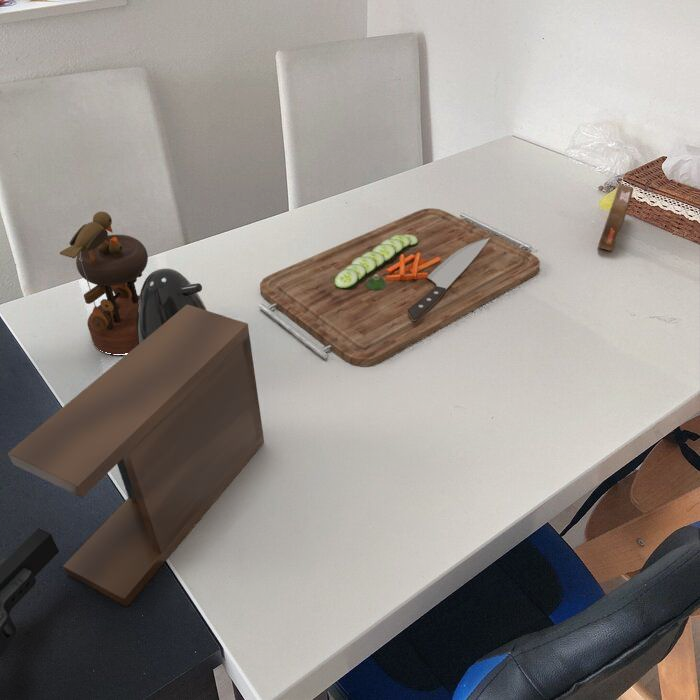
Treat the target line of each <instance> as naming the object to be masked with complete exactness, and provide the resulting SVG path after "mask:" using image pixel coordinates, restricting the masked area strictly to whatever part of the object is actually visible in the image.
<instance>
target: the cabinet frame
mask: <svg viewBox="0 0 700 700" xmlns="http://www.w3.org/2000/svg"><path fill="white" fill-rule="evenodd" d="M252 351H253V350H252V344H251V337H250V328H249V323H247V322H244V321H241V320H238V319H235V318H231V317H228V316H226V315H221V314H219V313H216V312H213V311H210V310H207V311H206V310H203V309H200V308H197V307H194V306H191V305H186V306H185V307H183V308H182V309H181V310H180V311H179V312H177V313H176V314H175V315H174V316H172V317H171V318H170V319H169V320H168V321H166V322H165V323H164V324H163V325H162V326H160V327H159V328H158V329H157V330H156V331H154V332H153V333H152V334H151V335H150V336H148V337H147V338H146V339H145V340H144V341H142V342H141V343H140V344H139V345H137V346H136V347H135V348H134V349H133V350H131V351H130V352H129V353H128V354H127V355H125V356H122V358H121V359H119V360H118V361H117V362H116V363H114V364H113V365H112V366H111V367H110V368H108V369H107V370H106V371H104V373H102V374H101V375H100V376H99V377H98V378H96V379H95V380H94V381H93V382H92V383H90V384H89V385H88V386H86V388H84V389H83V390H82V391H81V392H79V393H78V394H77V395H75V396H74V397H73V398H72V399H71V400H69V402H67V403H66V404H65V405H63V407H61V408H60V409H59V410H58V411H56V412H55V413H54V414H53V415H52V416H51V417H49V418H48V419H47V420H46V421H45V422H43V423H42V424H40V426H39V427H37V428H36V429H34V431H32V432H31V433H30V434H29V435H28V436H26V437H25V438H24V439H23V440H21V441H20V442H19V443H18V444H16V445H15V446H14V447H13V448H12V449H11V450H10V451H8V452H7V455H8V457H9V459H10V461H11V463H12V465H13V466H15V467H16V468H19V469H21V470H24V471H26V472H28V473H29V474H32V475H34V476H36V477H38V478H39V479H42V480H44V481H46V482H48V483H50V484H52V485H54V486H56V487H59V488H61V489H63V490H64V491H67V492H68V493H72V494H73V495H75V496H78V497H80V498H84V497H85V496H86V495H87V494H88V493H89V492H90V491H91V490H92V489H93V488H94V487H95V486H96V485H98V483H99V482H100V481H101V480H102V479H103V478H104V477H105V476H106V475H107V474H108V473H109V472H110V471H112V470H113V468H114V467H115V466H117V463H118V462H119V461H120V460H121V459H122V458H123V460H124V463H125V466H126V469H127V472H128V475H129V478H130V481H131V484H132V487H133V490H134V493H135V496H136V499H137V501H135V500H132V499H130V498H129V497H127V499H125V500H124V502H123V503H122V504H121V505H120V506H119V507H118V508H117V509H116V510H115V511H114V512H113V513H112V514H111V515H110V516H109V517H108V518H107V519H106V520H105V522H103V524H102V525H100V526H99V528H97V530H96V531H95V532H94V533H93V534H92V535H91V536H89V538H88V539H87V540H86V541H85V542H84V544H82V545H81V547H79V549H78V550H76V552H75V553H74V554H73V555H72V556H71V557H70V558H69V559H68V560H67V561H66V562H64V564H63V565H62V567H63V569H64V571H65V573H66V575H67V576H69V577H71V578H73V579H74V580H77V581H79V582H81V583H82V584H84V585H86V586H88V587H90V588H91V589H93V590H95V591H97V592H99V593H101V594H102V595H104V596H106V597H107V598H110V599H112V600H113V601H115V602H117V603H119V604H121V605H122V606H125V607H126V608H127V607H129V606H130V604H132V602H133V601H134V600H135V598H136V597H137V596H138V595H139V594H140V592H142V590H143V589H144V587H145V586H146V585H147V584H148V583H149V582H150V580H152V578H153V577H154V575H156V573H157V572H158V571H159V569H161V567H162V566H163V565H164V564H165V562H166V561H167V560H168V559H169V557H171V555H172V554H173V553H174V551H176V549H177V548H178V547H179V545H180V544H181V543H182V542H183V541H184V539H185V538H186V537H187V536H188V535H189V534H190V532H191V531H192V529H193V528H195V526H196V525H197V524H198V523H199V521H200V520H201V519H202V518H203V516H205V514H206V513H207V512H208V511H209V510H210V508H211V507H212V506H213V505H214V503H216V502H217V500H218V499H219V498H220V496H221V495H222V494H223V492H224V491H225V490H226V489H227V488H228V486H229V485H230V484H231V483H232V482H233V480H234V479H235V478H236V477H237V476H238V474H240V472H241V471H242V470H243V469H244V468H245V466H246V465H247V464H248V463H249V461H251V459H252V458H253V457H254V455H255V454H256V453H257V452H258V451H259V450H260V448H261V447H262V446H263V445H264V443H265V439H264V431H263V423H262V416H261V409H260V401H259V394H258V387H257V380H256V374H255V373H256V372H255V371H256V370H255V366H254V364H255V363H254V359H253V352H252ZM182 540H183V541H182ZM177 546H178V547H177ZM175 548H176V549H175Z"/></svg>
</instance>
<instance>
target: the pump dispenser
mask: <svg viewBox="0 0 700 700" xmlns="http://www.w3.org/2000/svg"><path fill="white" fill-rule="evenodd" d="M202 290H203V285H202V284H201V283H191V282H190V281H189V280H188V279H187V277H185V276H184V275H183V274H182V273H181V272H179V271H178V270H175V269H172V268H167V267H165V268H159V269H156V270H154V271H152V272H151V273H149V274H148V276H147V277H146V278H145V280H144V282H143V284H142V287H141V289H140V293H139V295H140V296H139V301H138V307H137V319H136V328H137V341H138V345H139V344H140V343H141V342H142V341H144V340H145V339H146V338H147V337H148V336H150V335H151V334H152V333H153V332H154V331H156V330H157V329H158V328H159V327H160V326H162V325H163V324H164V323H165V322H166V321H168V320H169V319H170V318H171V317H172V316H174V315H175V314H176V313H177V312H179V311H180V310H181V309H182V308H183V307H185V306H186V305H191V306H194V307H197V308H200V309H203V310H206V311H208V309H207V307H206V305H205V303H204V300H202V298H201V296H200V294H199V293H200V292H202Z"/></svg>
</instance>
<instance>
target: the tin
mask: <svg viewBox="0 0 700 700" xmlns="http://www.w3.org/2000/svg"><path fill="white" fill-rule="evenodd" d="M633 192H634V187H633V186H630V185H625V184H621V182H620V183H618V186H617V188H616V191H615V194H614V198H613V199H612V203H611V206H610V209H609V213H608V215H607V218H606V222H605V224H604V227H603V230H602V234H601V236H600V239H599V242H598V245H597V249H602V250H605V251H614V250H615V247H616V243H617V240H618V237H619V234H620V230H621V228H622V226H623V224H624V222H625V219H626V216H627V213H628V209H629V207H630V204H631V200H632V196H633Z"/></svg>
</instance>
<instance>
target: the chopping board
mask: <svg viewBox="0 0 700 700" xmlns="http://www.w3.org/2000/svg"><path fill="white" fill-rule="evenodd" d="M490 232H491V233H490ZM496 235H497V236H496ZM506 240H507V241H506ZM532 248H533V246H532V245H531V244H529V243H526V242H524V241H523V240H522V241H521V240H520V239H519V238H516V237H514V236H511V235H509V234H507V233H505V232H503V231H501V230H499V229H497V228H495V227H493V226H491V225H489V224H486V223H484V222H483V221H480V220H478V219H477V218H475V217H472V216H470V215H468V214H466V213H465V212H461V213H459V217H458V216H456V215H454V214H452V213H450V212H447V211H445V210H443V209H440V208H433V207H432V208H430V207H429V208H422V209H419V210H416V211H414V212H412V213H410V214H408V215H406V216H403V217H400V218H398V219H396V220H394V221H391V222H389V223H386V224H385V225H382V226H380V227H378V228H375V229H372V230H370V231H368V232H366V233H363V234H361V235H359V236H357V237H354V238H351V239H350V240H347V241H344V242H343V243H340V244H338V245H336V246H333V247H331V248H328V249H327V250H324V251H322V252H320V253H317V254H315V255H313V256H310V257H308V258H306V259H303V260H301V261H299V262H296V263H294V264H292V265H290V266H289V265H288V266H287V267H285V268H283V269H281V270H277V271H276V272H273V273H271V274H269V275H267V276H265V277H263V279H262V280H261V281H260V283H259V290H260V295H261V297H262V298H263V299H264V300H265V301H267V302H268V303H269V304H270V305H268V306H267V305H265V304H264V303H259V305H258V308H259V309H261V310H262V312H264V313H266V314H267V315H268V316H269V317H270V318H272V319H273V320H275V322H277V323H278V324H280V325H281V326H282V327H283V328H284V329H286V330H287V331H288V332H289V333H291V334H292V335H294V337H296V338H297V339H298V340H300V341H301V342H302V343H304V344H305V345H306V346H307V347H308V348H310V349H311V350H313V352H315V353H316V354H317V355H319V356H320V357H321V358H322V359H323V360H324V359H325V360H326V359H327V358H328V357H329V354H328V352H327V351H329V350H330V351H331V352H333V353H334V354H335V355H336V356H338V357H339V358H341V359H342V360H343V361H345V362H346V363H349V364H350V365H352V366H356V367H362V368H363V367H372V366H374V365H377V364H380V363H382V362H383V361H385V360H387V359H389V358H391V357H393V356H395V355H396V354H398V353H400V352H402V351H403V350H405V349H407V348H409V347H411V346H412V345H414V344H416V343H418V342H420V341H421V340H423V339H425V338H426V337H428V336H430V335H432V334H434V333H436V332H437V331H439V330H441V329H443V328H444V327H447V326H448V325H450V324H451V323H453V322H456V321H457V320H458V319H460V318H462V317H464V316H465V315H467V314H470V313H471V312H473V311H474V310H476V309H478V308H481V306H484V305H486V304H487V303H489V302H491V301H492V300H494V299H496V298H497V297H500V296H501V295H503V294H504V293H507V292H509V291H511V290H513V288H515V287H517V286H520V285H521V284H523V283H524V282H526V281H528V280H530V279H532V278H533V277H535V276H536V275H537V274H538V273H539V270H540V264H541V260H540V259H539V258H538V256H536V255H535V254H533V253H532V252H529V251H531V250H532ZM527 250H528V251H527ZM275 308H276V310H278V311H280V312H281V313H282V314H284V315H285V316H286V317H287V318H288V319H290V320H291V321H292V322H293V323H295V324H296V325H298V326H299V327H300V328H301V329H303V330H304V331H306V332H307V333H308V334H310V335H311V336H312V337H313V338H314V339H316V340H317V341H318V342H320V343H321V344H322V345H324V347H322V348H321V347H320V346H318V345H317V344H315V343H314V342H313V341H312V340H310V339H309V338H308V337H307V336H305V335H304V334H303V333H301V331H299V330H297V329H296V328H295V327H293V326H292V324H290V323H289V322H287V321H286V320H285V319H283V318H282V317H281V316H279V314H277V313H276V312H274V311H273V310H272V309H275Z"/></svg>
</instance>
